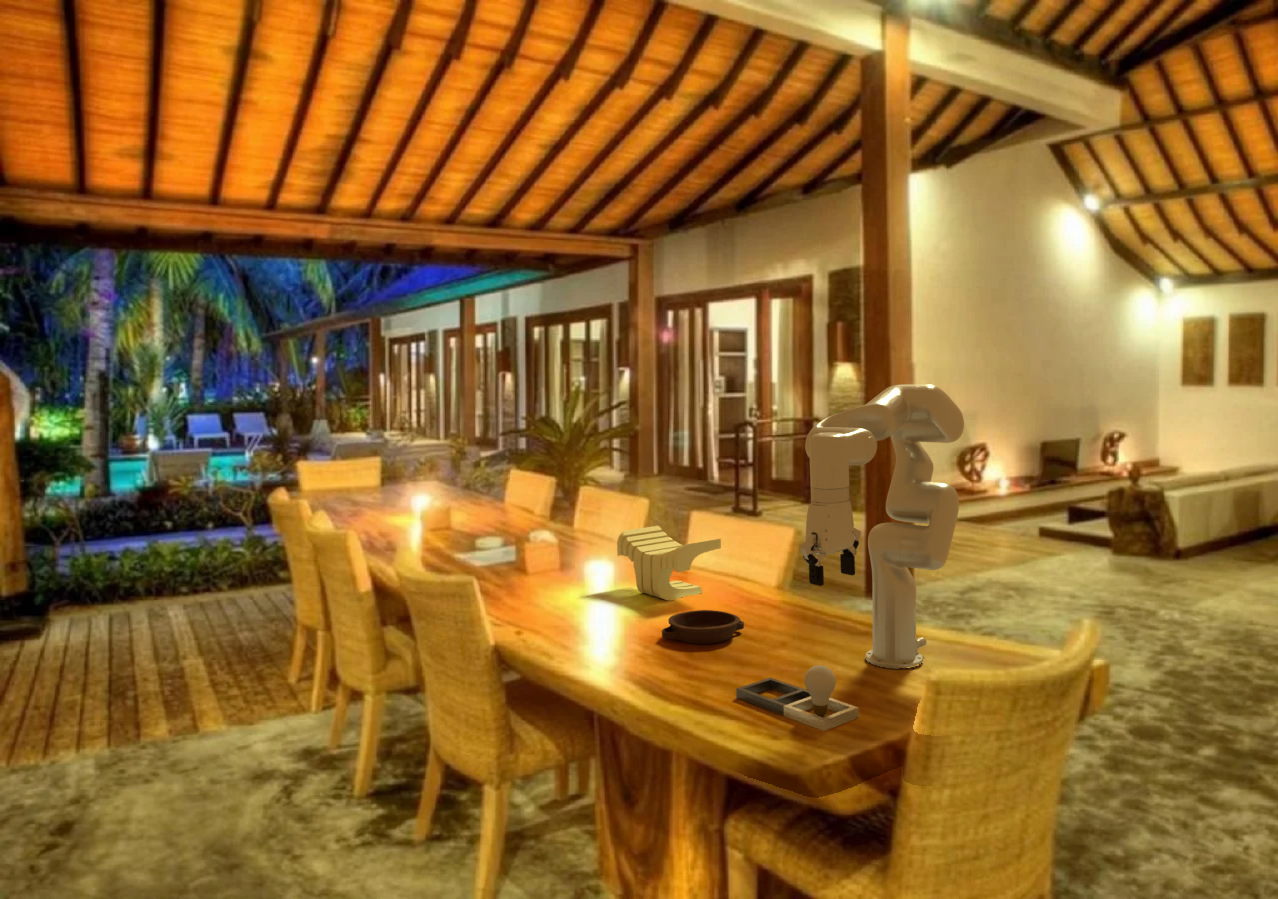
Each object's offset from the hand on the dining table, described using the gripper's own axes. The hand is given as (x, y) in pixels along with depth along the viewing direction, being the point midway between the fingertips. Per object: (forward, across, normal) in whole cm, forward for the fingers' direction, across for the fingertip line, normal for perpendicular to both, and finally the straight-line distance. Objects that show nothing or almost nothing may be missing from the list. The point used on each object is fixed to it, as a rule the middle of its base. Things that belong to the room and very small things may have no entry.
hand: (832, 579), depth 184 cm
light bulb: (+24, +10, +5) cm, 27 cm away
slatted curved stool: (+28, -32, -89) cm, 98 cm away
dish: (+26, -9, -49) cm, 56 cm away
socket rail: (+24, +10, -2) cm, 26 cm away
